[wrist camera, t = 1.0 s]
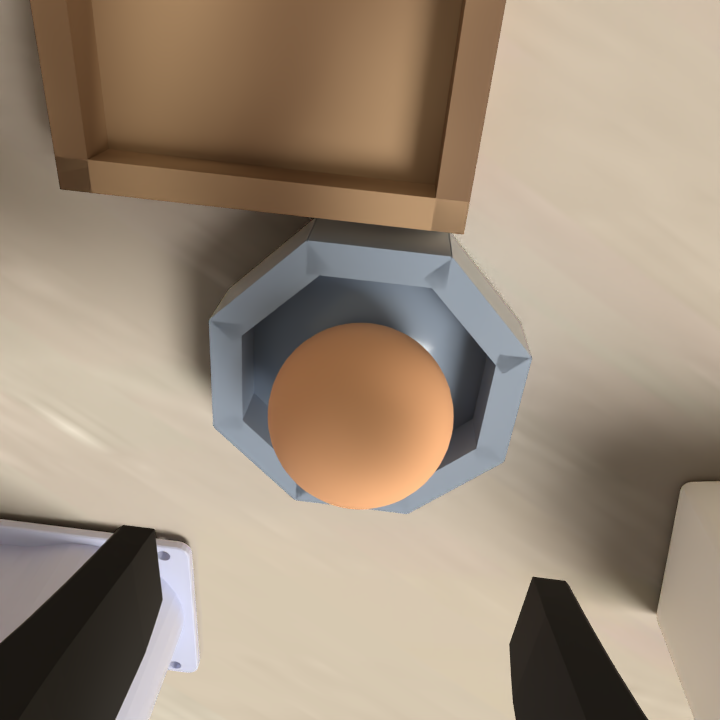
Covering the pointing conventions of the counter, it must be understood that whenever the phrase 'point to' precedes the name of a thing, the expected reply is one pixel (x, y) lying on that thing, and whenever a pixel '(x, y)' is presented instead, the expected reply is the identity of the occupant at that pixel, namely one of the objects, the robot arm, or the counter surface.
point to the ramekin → (378, 306)
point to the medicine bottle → (694, 597)
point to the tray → (273, 103)
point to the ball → (360, 415)
